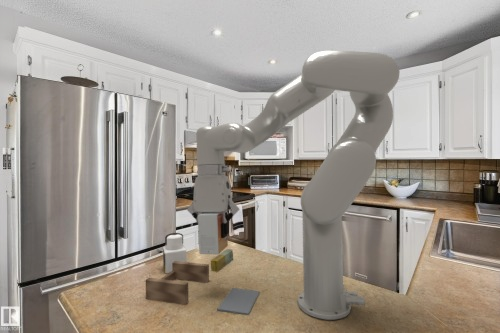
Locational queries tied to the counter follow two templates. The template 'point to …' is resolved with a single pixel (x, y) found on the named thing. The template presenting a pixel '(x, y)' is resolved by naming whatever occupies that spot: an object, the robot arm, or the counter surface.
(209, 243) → the small box
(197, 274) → the nook
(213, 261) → the medication box
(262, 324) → the counter surface
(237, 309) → the mat
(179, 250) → the medicine bottle
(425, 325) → the counter surface
